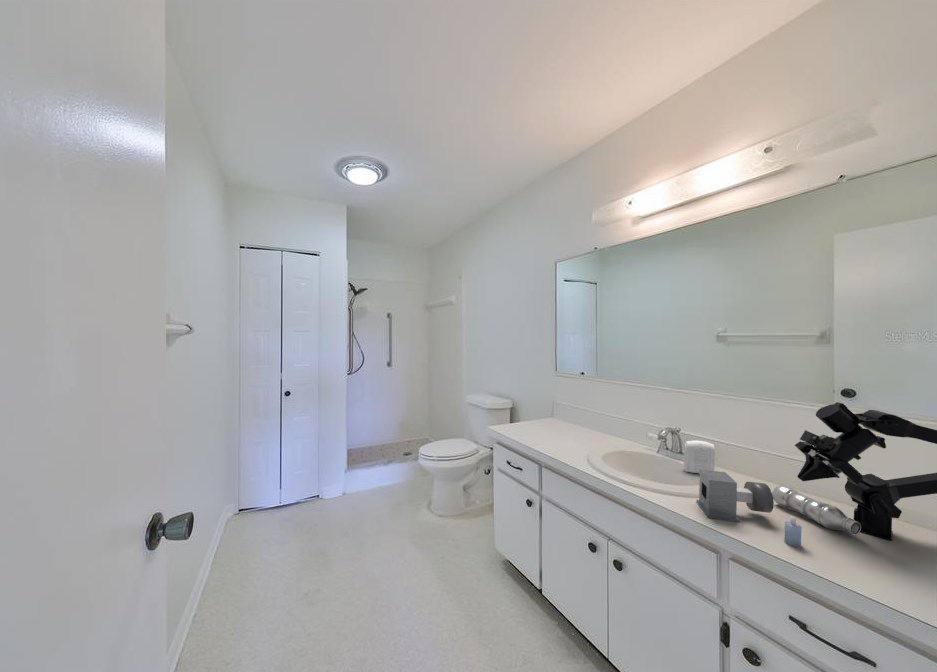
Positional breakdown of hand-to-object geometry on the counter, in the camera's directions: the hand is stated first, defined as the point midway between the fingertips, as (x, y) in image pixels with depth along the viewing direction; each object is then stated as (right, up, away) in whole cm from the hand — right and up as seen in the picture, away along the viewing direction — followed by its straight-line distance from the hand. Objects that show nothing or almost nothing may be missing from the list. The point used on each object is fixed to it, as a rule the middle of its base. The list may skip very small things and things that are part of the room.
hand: (799, 479), depth 101 cm
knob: (-14, -10, +4) cm, 18 cm away
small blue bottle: (-11, -13, -10) cm, 20 cm away
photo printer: (-6, -12, +36) cm, 38 cm away
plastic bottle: (+3, -9, +12) cm, 15 cm away
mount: (-20, -12, +6) cm, 24 cm away
